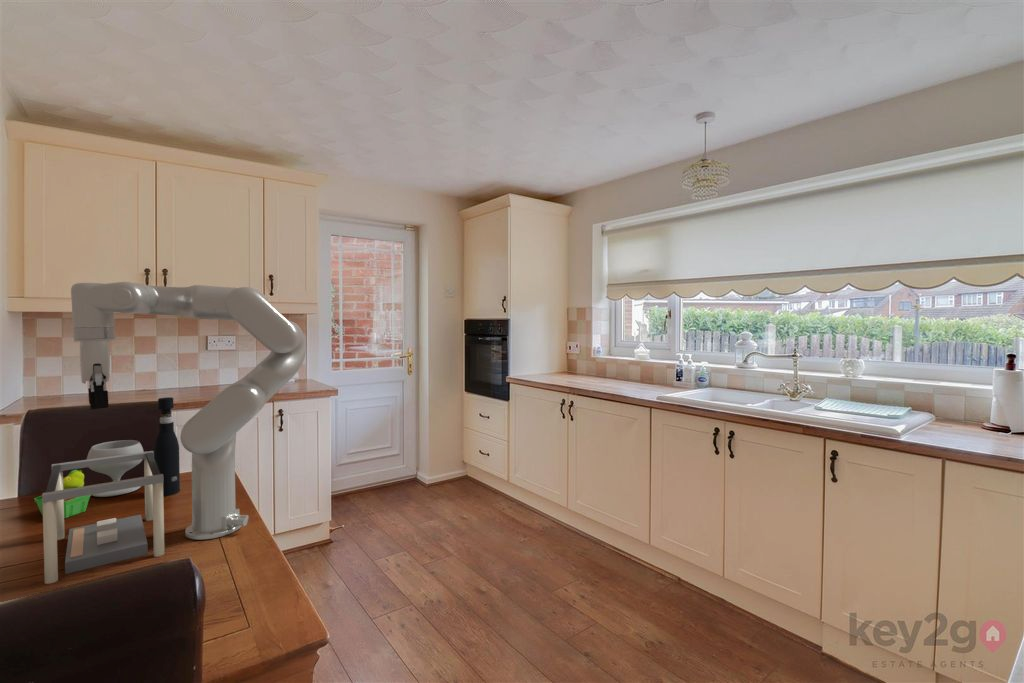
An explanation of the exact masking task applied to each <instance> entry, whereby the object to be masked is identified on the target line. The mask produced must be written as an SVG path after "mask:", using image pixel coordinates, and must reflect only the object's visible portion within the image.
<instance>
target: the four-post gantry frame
mask: <svg viewBox="0 0 1024 683" xmlns="http://www.w3.org/2000/svg"><path fill="white" fill-rule="evenodd" d="M143 464H144V466H143V467H144V468H143V469H144V470H143V472H144V473H143V474H144V476H143V477H146V476H152V472H151V470H150V467H149V464H148V461H147V459H143ZM63 478H64V471H60V473H59V477H58V481H57V485H56V489H55V491H58V490H63ZM164 503H165V502H164V496H163V483H157V484H151V485H145V486H144V516H145V517H144V521H146V522H150V521H152V524H153V525H152V527H153V528H152V530H153V533H152V535H153V538H152V540H153V542H152V543H153V557H154V558H155V557H156V558H157V557H163V556H164V555H165V509H164V507H165V506H164V505H165V504H164ZM144 521H143V517H142V514H136V515H131V516H128V517H127V516H126V517H121V518H116V526H117V536H118V541H113V542H109V543H104V544H100V545H97V522H96V523H91V524H87V525H82V526H77V527H72V528H69V530H68V537H67V545H66V550H65V552H66V553H65V561H64V574H65V575H67V574H72V573H77V572H80V571H85V570H89V569H93V568H96V567H100V566H104V565H108V564H114V563H117V562H120V561H121V562H122V561H126V560H128V559H133V558H138V557H141V556H145V555H146V556H147V555H148V553H149V552H148V550H149V549H148V540H147V536H146V532H145V530H146V529H145V526H144ZM42 528H43V529H42V530H43V531H42V532H43V564H44V565H43V566H44V569H43V571H44V573H43V574H44V584H45V585H51V584H54V583H57V582H58V581H59V569H58V568H59V565H58V563H59V562H58V559H59V558H58V541H60V540H62V539H64V538H65V518H64V499H63V500H57V501H51V502H45V503H43V515H42Z"/></svg>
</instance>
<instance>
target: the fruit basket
mask: <svg viewBox="0 0 1024 683" xmlns="http://www.w3.org/2000/svg"><path fill="white" fill-rule="evenodd" d="M83 486H85V474H84V473H83V470H81V469H72V470H71V471H70V472H69V473H68V474H67V476H65V477H63V490H65V489H71V488H77V487H83ZM91 496H92V495H86V496H80V497H74V498H69V499H64V519H67V518H70V517H72V516H73V517H74V516H75V515H79V514H81V513H84V512H86V510H87V507H88V504H89V501H90V498H91ZM34 502H35V503H36V505H37V507H38V509H39V512H40V514H41V515H42V516H43V503H42V495H40V496H36V497H34Z"/></svg>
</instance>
